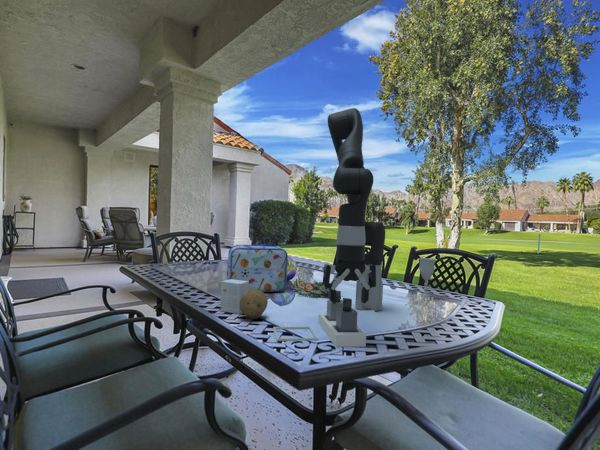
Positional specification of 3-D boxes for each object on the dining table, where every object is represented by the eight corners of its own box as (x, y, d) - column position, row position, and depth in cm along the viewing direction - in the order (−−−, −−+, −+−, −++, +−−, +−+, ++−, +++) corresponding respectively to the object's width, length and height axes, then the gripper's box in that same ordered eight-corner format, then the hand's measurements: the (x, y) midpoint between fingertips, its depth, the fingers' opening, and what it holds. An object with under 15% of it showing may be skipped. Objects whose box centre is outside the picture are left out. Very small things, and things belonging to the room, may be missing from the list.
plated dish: (273, 286, 172) (274, 271, 172) (326, 286, 180) (327, 272, 180) (291, 304, 139) (292, 286, 138) (355, 303, 146) (356, 286, 146)
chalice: (435, 299, 154) (437, 259, 154) (432, 302, 148) (434, 260, 148) (418, 296, 158) (420, 257, 158) (414, 299, 152) (416, 258, 152)
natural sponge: (262, 325, 105) (263, 293, 105) (234, 322, 107) (235, 290, 107) (269, 317, 114) (271, 287, 114) (244, 315, 116) (245, 285, 116)
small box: (248, 311, 121) (249, 281, 121) (239, 314, 116) (240, 283, 116) (229, 307, 125) (230, 278, 125) (220, 311, 120) (221, 280, 120)
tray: (310, 331, 102) (310, 326, 102) (317, 343, 92) (317, 338, 92) (273, 332, 100) (273, 326, 100) (276, 344, 90) (276, 338, 90)
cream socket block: (318, 326, 107) (318, 311, 107) (343, 326, 108) (343, 311, 108) (335, 350, 87) (336, 332, 87) (365, 350, 89) (366, 332, 89)
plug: (350, 336, 96) (352, 297, 95) (356, 342, 91) (358, 301, 91) (335, 337, 95) (337, 297, 95) (340, 342, 90) (341, 301, 90)
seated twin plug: (340, 325, 105) (341, 289, 105) (344, 330, 101) (346, 292, 101) (326, 325, 105) (327, 289, 105) (329, 330, 100) (331, 292, 100)
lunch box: (284, 288, 164) (286, 242, 163) (290, 293, 154) (292, 244, 153) (225, 289, 156) (227, 240, 155) (227, 294, 146) (229, 242, 145)
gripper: (370, 242, 97) (368, 299, 98) (321, 241, 95) (319, 299, 95) (381, 244, 90) (379, 306, 90) (328, 243, 88) (326, 307, 88)
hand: (348, 302), depth 93 cm, fingers open, 8 cm apart
